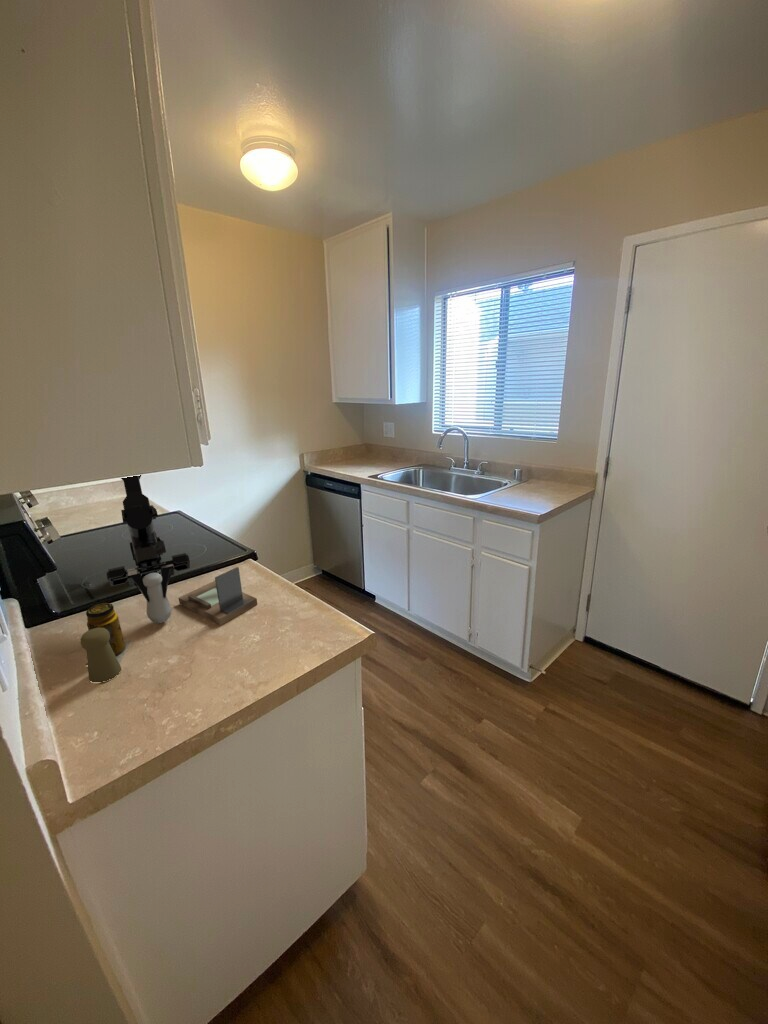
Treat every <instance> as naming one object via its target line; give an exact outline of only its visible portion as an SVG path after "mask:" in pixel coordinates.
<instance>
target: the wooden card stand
mask: <svg viewBox="0 0 768 1024" xmlns="http://www.w3.org/2000/svg"><path fill="white" fill-rule="evenodd" d="M242 595H243V599H245V600H247V601H249V602H250V603H248V604H246V605H244V606H242V607H241V608H239V609H237V610H235V611H233V612H232V613H230V614H226V613H224V612H222V611H220V606H219V600H218V594H217V588H216V582H215V580H213V581H211V582H209V583H206V584H204V585H202V586H201V587H198V588H196V589H194V590H192V591H190V592H188V593H185V594H183V595H182V596H179V597H178V601H179V605H181V606H183V607H185V608H186V609H189V610H191V611H192V612H194V613H196V614H199V615H200V616H202V617H204V618H206V619H207V620H208V621H212V622H213V623H215V624H217V625H219V626H222V625H224V624H226V623H228V622H229V621H232V620H233V619H235V618H236V617H238V616H239V615H242V614H243V613H245V612H247V611H248V610H250V609H252V608H254V607H256V606H257V605H258V599H257V598H256V597H254V596H252V595H250V594H248V593H245V592H244V591H242Z"/></svg>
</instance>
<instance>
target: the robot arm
mask: <svg viewBox="0 0 768 1024" xmlns="http://www.w3.org/2000/svg"><path fill="white" fill-rule="evenodd" d="M141 477H142V475H140V476H133V477H127V478H120V480H121V481H123V485H124V489H125V490H124V491H125V494H126V495H125V498H124V499H123V501H122V506H123V509H121V510H120V511H121V517H122V523H123V525H126V526H127V528H128V532H129V534H130V540H131V541H130V542H129V546H130V551H131V556H132V560H133V561H134V563H135V567H134V568H129V569H126V568H125V566H123V565H122V566H117V567H114V568H109V569H108V570H107V571H106V579H107V581H108V583H109V585H110V586H111V587H115V586H120V585H124V584H126V583H127V582H128V585H130V586H133V585H134V586H135V587H136V588H137V589H138V590H139V591H140V592H141V594H142V596H143V598H145V600H146V603H147V602H149V597H148V594H147V587H146V586H145V585H144V584H143V577H141V574H142V575H147V574H150V573H155V572H157V571H159V570H161V573H160V574H161V576H162V582H161V585H162V589H163V595H164V598H166V596H167V592H168V587H169V582H170V579H171V577H172V576H174V575H175V571H176V572H181V571H184V570H189V569H190V568H191V564H190V563H191V561H190V558H189V554H187V553H186V552H183V553H180V554H179V553H178V554H175V555H171V560H167V561H162V555H163V554H165V553H167V549H166V546H165V545H166V544H165V541H164V540H162V539H161V538H160V536H158V535H157V533H156V531H155V525H154V520H157V517H159V515H158V511H157V508H155V506H154V505H153V504H150V501H149V497H148V496H147V495H145V494H143V491H142V485H141V481H140V479H141Z"/></svg>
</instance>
